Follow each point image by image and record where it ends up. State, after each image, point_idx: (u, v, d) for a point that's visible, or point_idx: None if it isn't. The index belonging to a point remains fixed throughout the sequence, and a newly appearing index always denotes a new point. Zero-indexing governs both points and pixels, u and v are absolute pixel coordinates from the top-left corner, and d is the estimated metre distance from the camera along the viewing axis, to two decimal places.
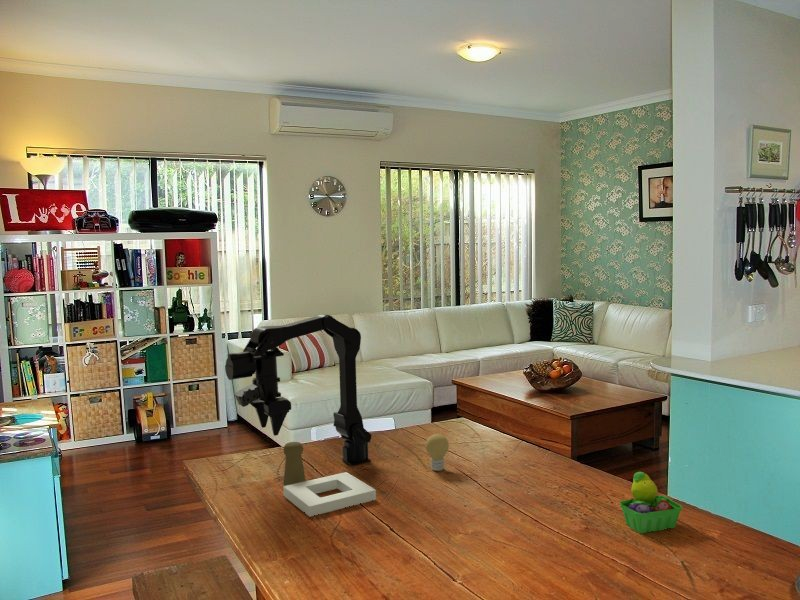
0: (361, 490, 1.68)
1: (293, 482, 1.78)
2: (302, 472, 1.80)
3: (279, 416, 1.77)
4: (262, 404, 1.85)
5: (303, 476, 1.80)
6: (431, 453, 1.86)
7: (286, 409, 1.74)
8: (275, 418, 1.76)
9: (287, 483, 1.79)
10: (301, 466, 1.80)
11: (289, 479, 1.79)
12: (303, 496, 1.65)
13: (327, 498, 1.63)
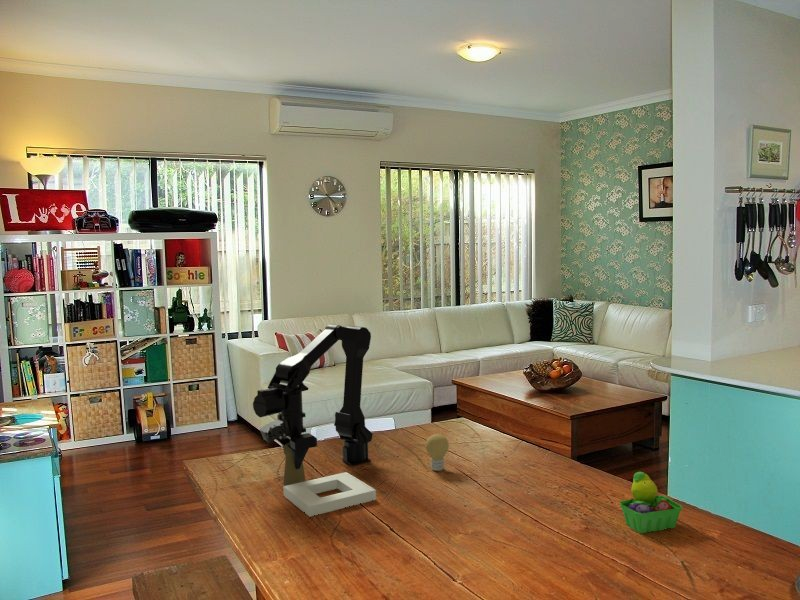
0: (361, 490, 1.68)
1: (293, 482, 1.78)
2: (302, 472, 1.80)
3: (301, 450, 1.78)
4: (289, 440, 1.83)
5: (303, 476, 1.80)
6: (431, 453, 1.86)
7: (312, 446, 1.73)
8: (298, 452, 1.77)
9: (287, 483, 1.79)
10: (301, 466, 1.80)
11: (289, 479, 1.79)
12: (303, 496, 1.65)
13: (327, 498, 1.63)
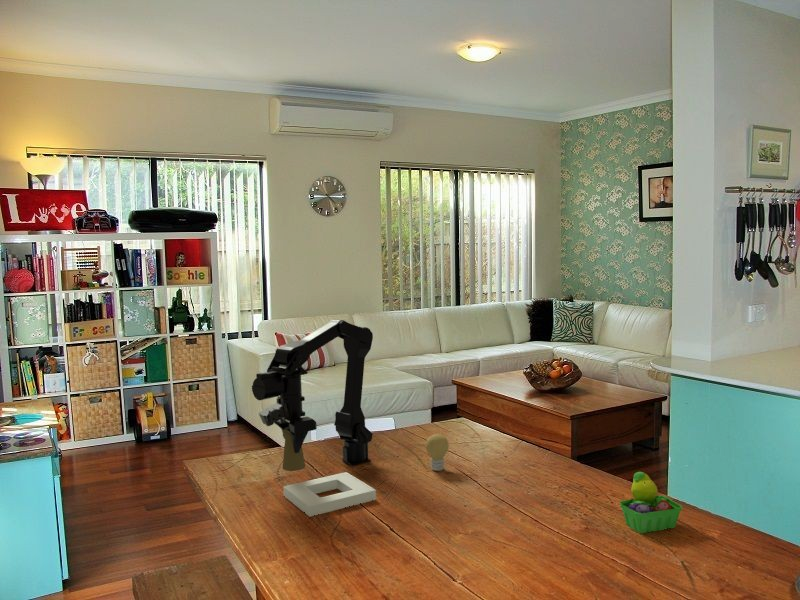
0: (361, 490, 1.68)
1: (292, 466, 1.78)
2: (301, 456, 1.80)
3: (300, 434, 1.77)
4: (288, 424, 1.82)
5: (302, 460, 1.80)
6: (431, 453, 1.86)
7: (312, 429, 1.73)
8: (297, 436, 1.77)
9: (286, 467, 1.78)
10: (300, 450, 1.79)
11: (288, 463, 1.78)
12: (303, 496, 1.65)
13: (327, 498, 1.63)
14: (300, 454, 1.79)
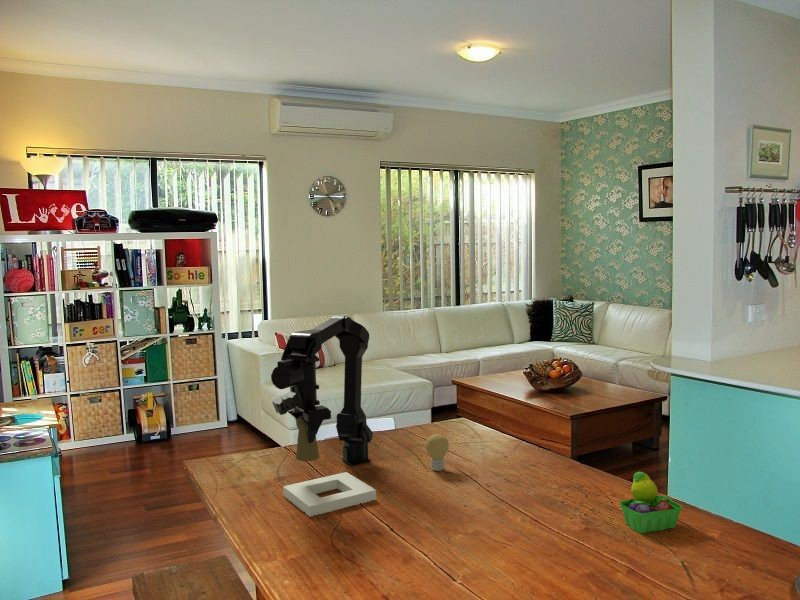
0: (361, 490, 1.68)
1: (306, 456, 1.73)
2: (315, 446, 1.74)
3: (315, 423, 1.72)
4: (302, 414, 1.77)
5: (316, 450, 1.74)
6: (431, 453, 1.86)
7: (326, 418, 1.67)
8: (311, 425, 1.72)
9: (300, 457, 1.73)
10: (314, 440, 1.74)
11: (302, 453, 1.73)
12: (303, 496, 1.65)
13: (327, 498, 1.63)
14: (314, 444, 1.74)
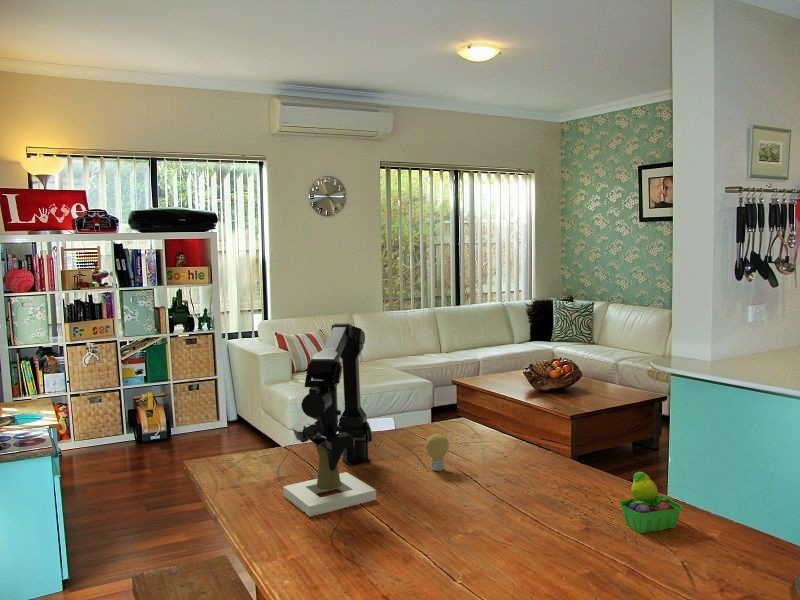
0: (361, 490, 1.68)
1: (328, 484, 1.67)
2: (337, 474, 1.69)
3: (337, 450, 1.66)
4: (323, 440, 1.72)
5: (338, 478, 1.69)
6: (431, 453, 1.86)
7: (350, 446, 1.62)
8: (333, 453, 1.66)
9: (321, 485, 1.67)
10: (336, 467, 1.69)
11: (323, 482, 1.67)
12: (303, 496, 1.65)
13: (327, 498, 1.63)
14: (336, 472, 1.68)
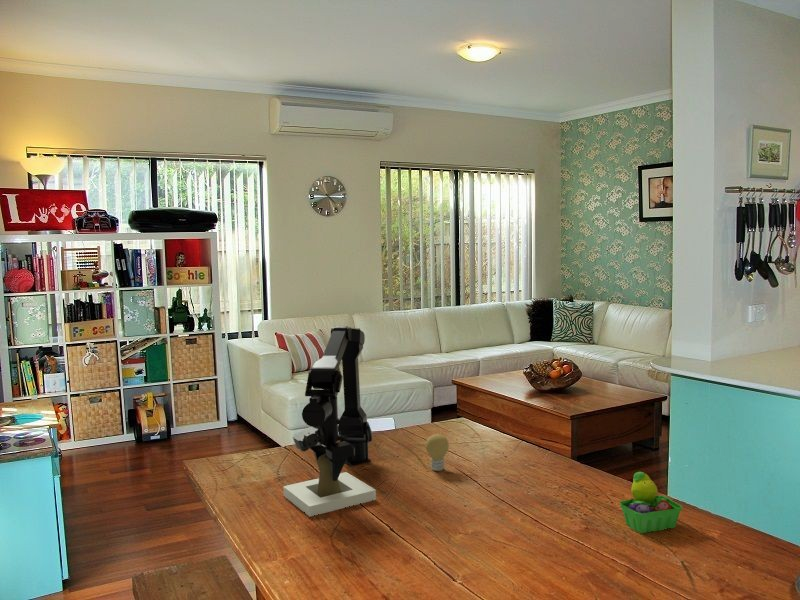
0: (361, 490, 1.68)
1: None
2: (337, 486, 1.69)
3: (339, 460, 1.66)
4: (321, 447, 1.73)
5: (338, 490, 1.69)
6: (431, 453, 1.86)
7: (350, 455, 1.62)
8: (335, 463, 1.65)
9: None
10: None
11: (324, 494, 1.68)
12: (303, 496, 1.65)
13: (327, 498, 1.63)
14: (336, 484, 1.69)
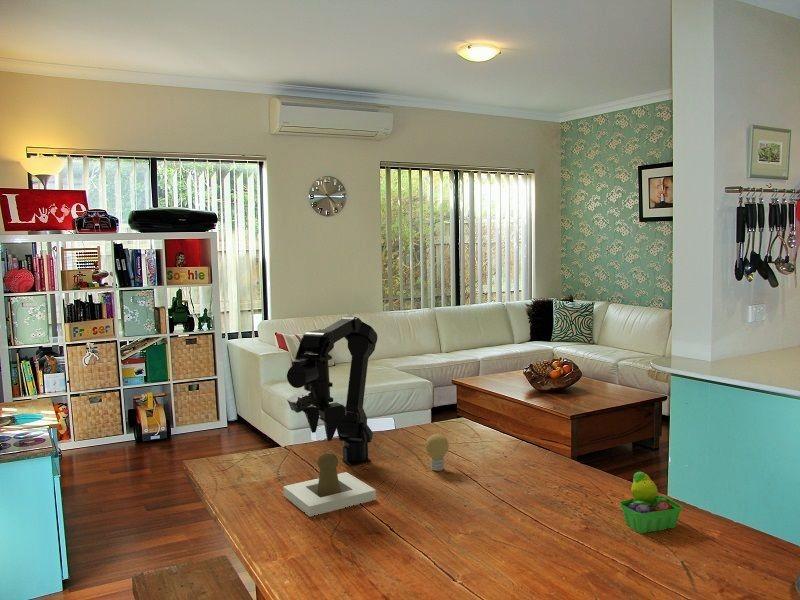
0: (361, 490, 1.68)
1: None
2: (337, 486, 1.69)
3: (333, 421, 1.75)
4: (312, 409, 1.84)
5: (338, 490, 1.69)
6: (431, 453, 1.86)
7: (342, 415, 1.72)
8: (330, 424, 1.75)
9: None
10: (336, 480, 1.69)
11: (324, 494, 1.68)
12: (303, 496, 1.65)
13: (327, 498, 1.63)
14: (336, 484, 1.69)
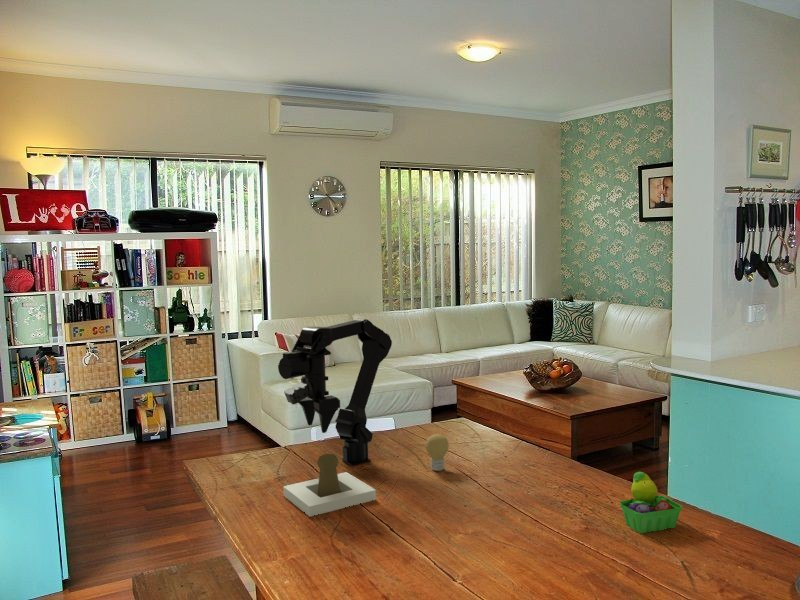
0: (361, 490, 1.68)
1: None
2: (337, 486, 1.69)
3: (328, 414, 1.81)
4: (309, 402, 1.90)
5: (338, 490, 1.69)
6: (431, 453, 1.86)
7: (336, 407, 1.78)
8: (324, 416, 1.81)
9: None
10: (336, 480, 1.69)
11: (324, 494, 1.68)
12: (303, 496, 1.65)
13: (327, 498, 1.63)
14: (336, 484, 1.69)
